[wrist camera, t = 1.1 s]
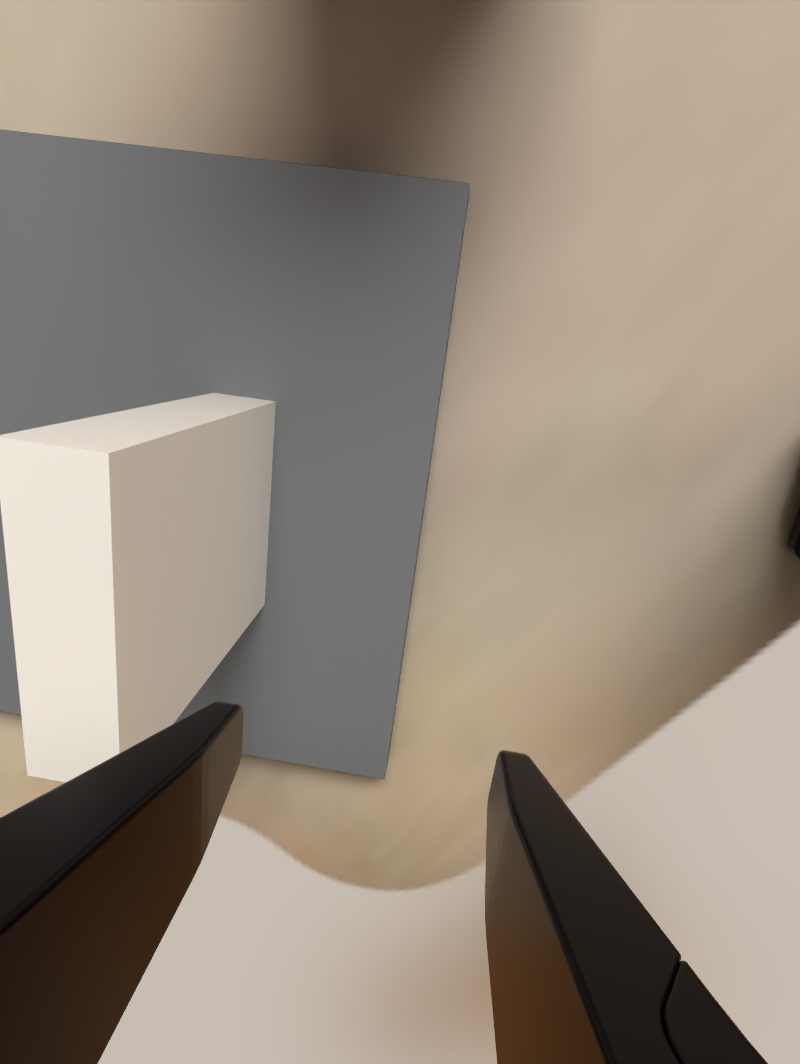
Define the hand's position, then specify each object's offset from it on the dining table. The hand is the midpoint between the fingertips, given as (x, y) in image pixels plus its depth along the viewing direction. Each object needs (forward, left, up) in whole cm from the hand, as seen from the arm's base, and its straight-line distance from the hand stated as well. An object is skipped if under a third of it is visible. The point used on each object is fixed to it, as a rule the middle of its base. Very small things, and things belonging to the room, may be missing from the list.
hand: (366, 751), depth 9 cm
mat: (+10, 0, -12) cm, 16 cm away
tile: (+6, 0, -11) cm, 12 cm away
